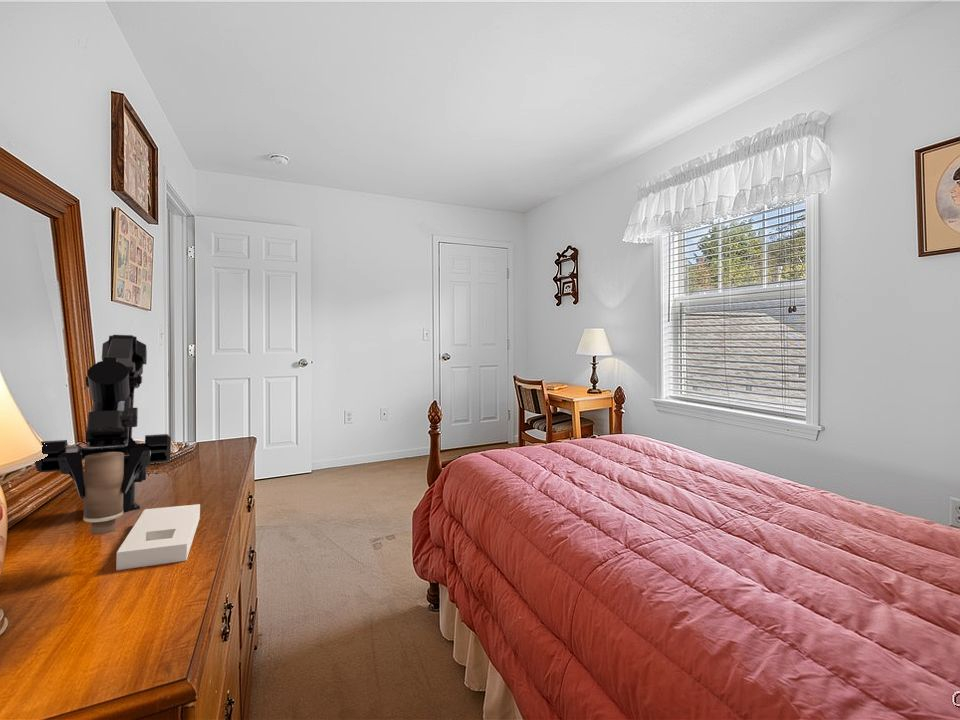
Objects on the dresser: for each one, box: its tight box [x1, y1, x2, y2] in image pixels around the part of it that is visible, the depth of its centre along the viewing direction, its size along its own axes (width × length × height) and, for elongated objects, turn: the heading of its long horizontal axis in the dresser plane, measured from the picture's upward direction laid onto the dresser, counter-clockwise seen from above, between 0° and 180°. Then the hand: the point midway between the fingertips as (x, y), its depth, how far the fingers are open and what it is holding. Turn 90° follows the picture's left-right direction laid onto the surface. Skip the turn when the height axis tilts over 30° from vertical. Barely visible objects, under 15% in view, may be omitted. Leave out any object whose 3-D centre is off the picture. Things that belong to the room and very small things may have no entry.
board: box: [115, 503, 201, 571], centre depth 90 cm, size 22×10×3 cm, turn 26°
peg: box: [82, 452, 124, 536], centre depth 80 cm, size 5×5×13 cm
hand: (103, 495), depth 78 cm, fingers closed on peg, 5 cm apart
